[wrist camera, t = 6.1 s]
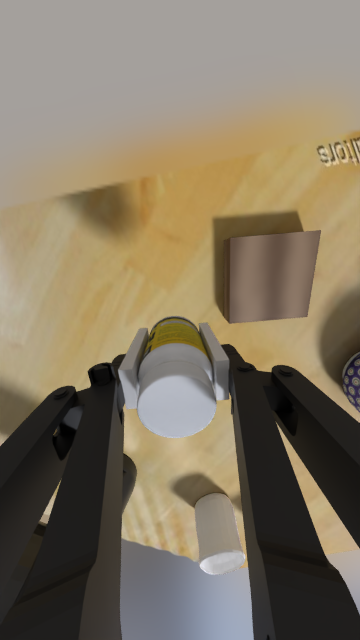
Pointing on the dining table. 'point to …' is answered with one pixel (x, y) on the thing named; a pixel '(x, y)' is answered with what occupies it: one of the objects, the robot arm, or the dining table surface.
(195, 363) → the supplement bottle
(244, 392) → the robot arm
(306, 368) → the dining table surface
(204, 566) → the cup
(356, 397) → the teapot
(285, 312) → the walnut plinth
